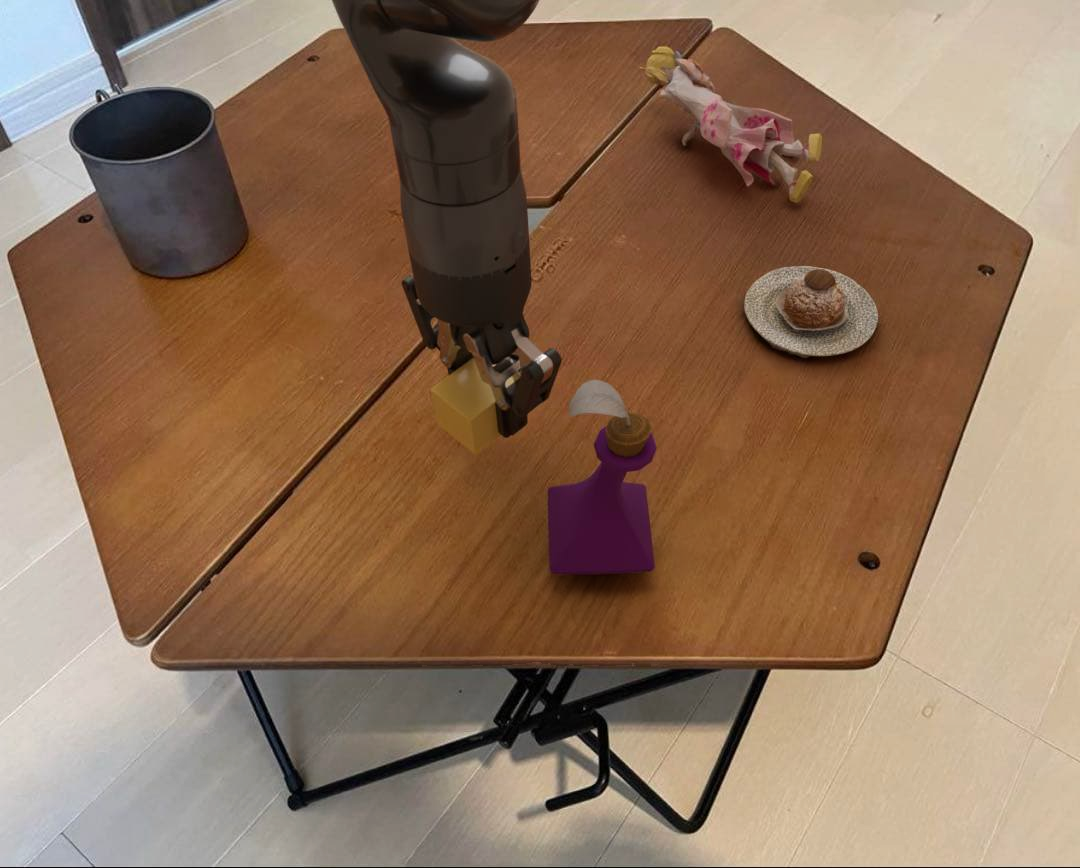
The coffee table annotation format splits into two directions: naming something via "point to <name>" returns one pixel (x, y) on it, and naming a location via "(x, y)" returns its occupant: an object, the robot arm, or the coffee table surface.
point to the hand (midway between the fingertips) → (489, 411)
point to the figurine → (733, 123)
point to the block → (467, 407)
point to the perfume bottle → (604, 495)
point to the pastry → (810, 311)
